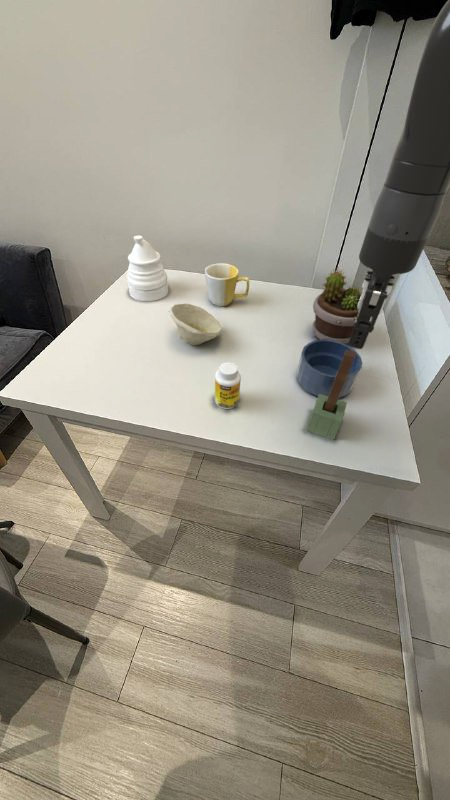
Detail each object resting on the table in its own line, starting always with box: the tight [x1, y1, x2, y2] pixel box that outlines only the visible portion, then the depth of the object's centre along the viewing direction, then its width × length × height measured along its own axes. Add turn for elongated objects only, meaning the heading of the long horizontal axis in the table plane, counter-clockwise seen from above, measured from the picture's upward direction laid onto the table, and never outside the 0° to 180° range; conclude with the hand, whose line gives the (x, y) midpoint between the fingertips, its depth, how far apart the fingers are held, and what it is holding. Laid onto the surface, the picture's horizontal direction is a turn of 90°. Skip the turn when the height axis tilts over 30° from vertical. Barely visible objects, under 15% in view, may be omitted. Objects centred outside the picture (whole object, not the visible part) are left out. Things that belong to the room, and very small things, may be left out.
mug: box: [204, 262, 250, 307], centre depth 102 cm, size 14×10×10 cm
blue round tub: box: [295, 339, 363, 399], centre depth 79 cm, size 14×14×8 cm
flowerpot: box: [312, 266, 365, 345], centre depth 88 cm, size 14×15×20 cm
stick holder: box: [306, 394, 348, 440], centre depth 69 cm, size 6×6×6 cm
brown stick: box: [324, 350, 357, 413], centre depth 64 cm, size 2×2×20 cm
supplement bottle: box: [214, 361, 242, 410], centre depth 72 cm, size 6×6×10 cm
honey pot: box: [126, 235, 169, 302], centre depth 103 cm, size 13×13×18 cm
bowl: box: [168, 303, 224, 346], centre depth 88 cm, size 15×14×10 cm
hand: (359, 332), depth 54 cm, fingers open, 8 cm apart
